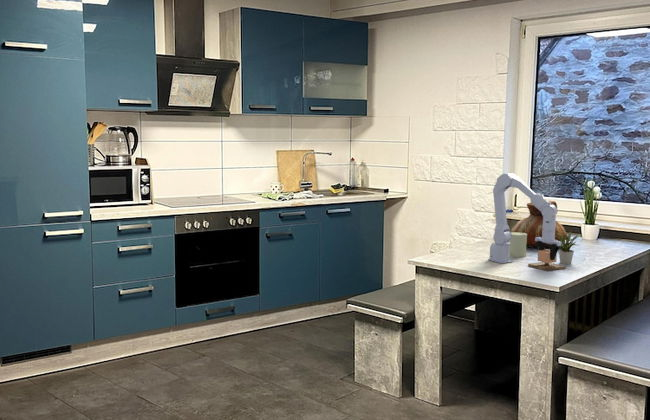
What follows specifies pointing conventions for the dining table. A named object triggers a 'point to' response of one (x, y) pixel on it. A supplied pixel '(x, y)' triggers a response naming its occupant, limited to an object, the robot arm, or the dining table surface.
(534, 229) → the jug
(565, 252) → the house plant
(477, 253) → the dining table surface
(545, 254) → the open box
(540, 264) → the keeper
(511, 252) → the can
